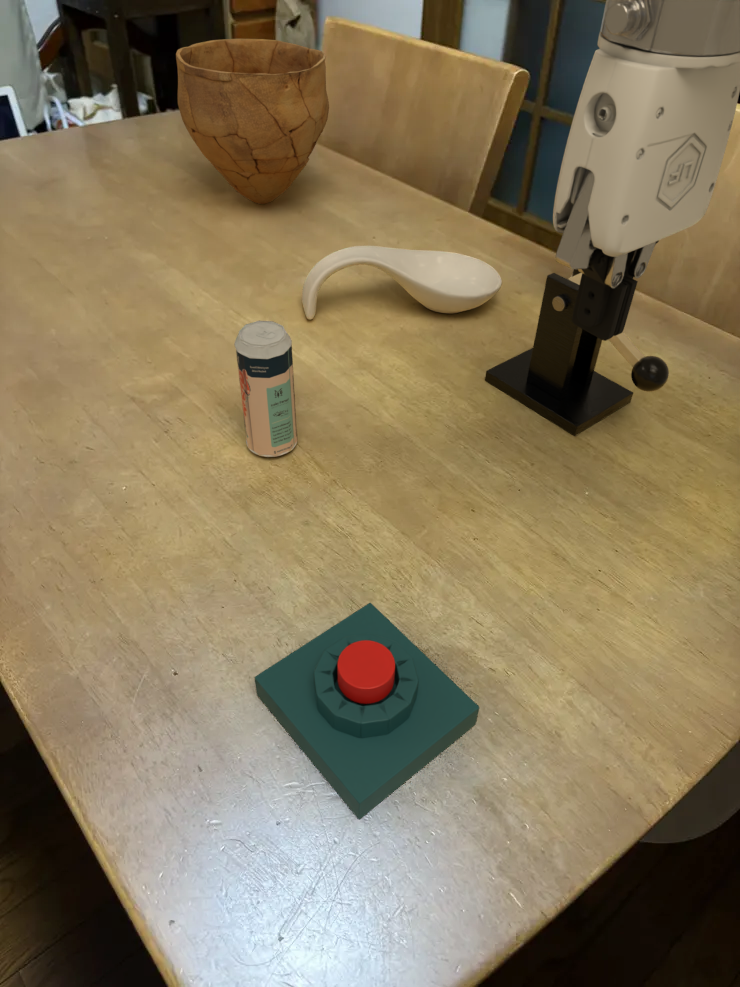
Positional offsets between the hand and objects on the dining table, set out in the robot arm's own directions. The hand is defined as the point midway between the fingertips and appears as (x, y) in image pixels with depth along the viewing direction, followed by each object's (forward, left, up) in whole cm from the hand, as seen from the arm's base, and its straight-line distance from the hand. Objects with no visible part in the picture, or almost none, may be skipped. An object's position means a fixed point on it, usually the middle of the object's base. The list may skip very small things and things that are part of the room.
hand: (596, 328), depth 52 cm
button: (-4, +24, -15) cm, 28 cm away
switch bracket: (+12, -15, -18) cm, 27 cm away
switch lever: (+8, -15, -11) cm, 20 cm away
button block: (-4, +24, -18) cm, 30 cm away
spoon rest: (+35, -14, -19) cm, 42 cm away
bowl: (+71, -18, -19) cm, 75 cm away
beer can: (+23, +13, -19) cm, 32 cm away
